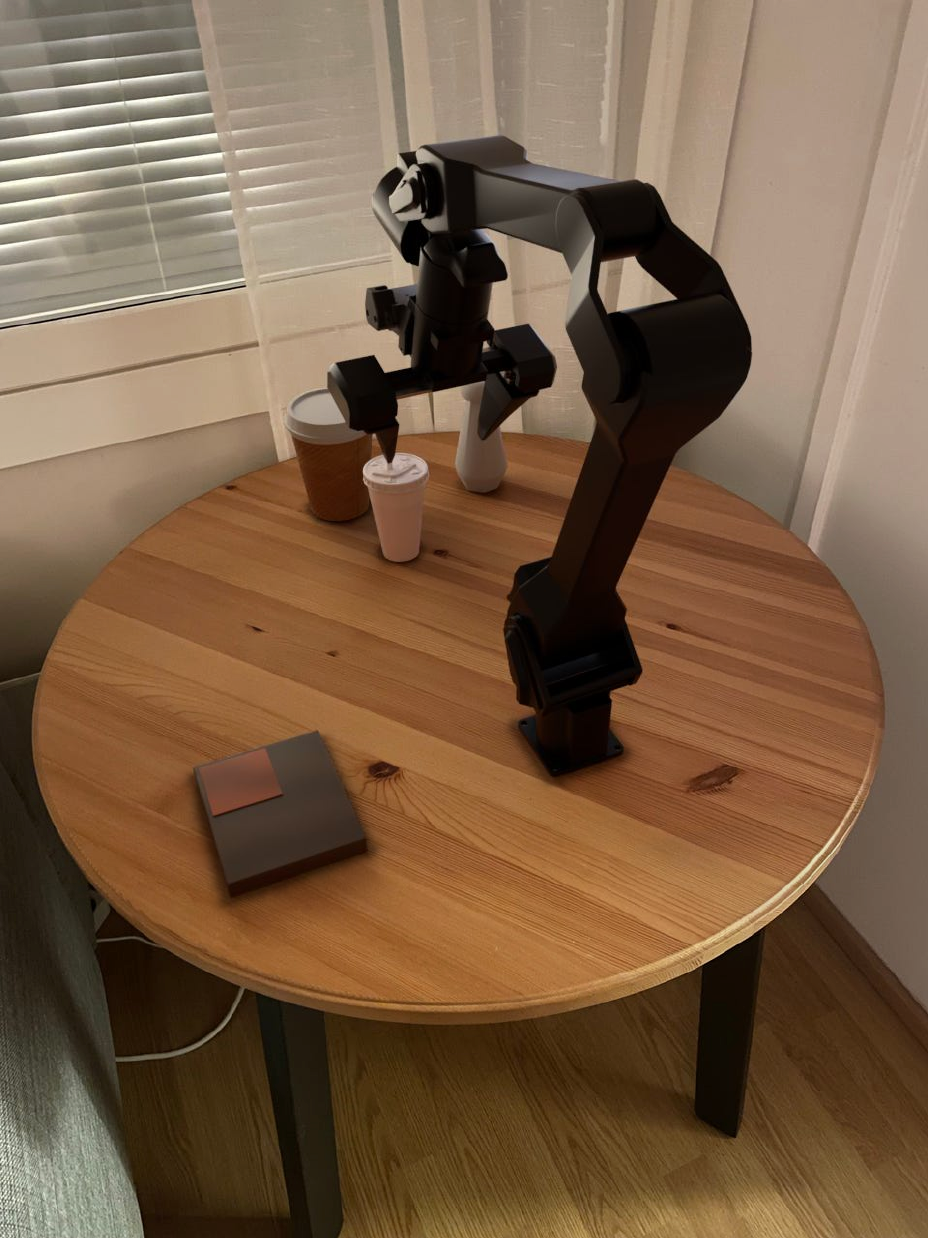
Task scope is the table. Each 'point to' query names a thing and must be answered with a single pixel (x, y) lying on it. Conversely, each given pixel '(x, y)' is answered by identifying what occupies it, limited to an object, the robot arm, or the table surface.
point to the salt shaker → (478, 447)
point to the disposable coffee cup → (329, 456)
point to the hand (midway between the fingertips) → (435, 448)
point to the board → (278, 812)
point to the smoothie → (397, 502)
